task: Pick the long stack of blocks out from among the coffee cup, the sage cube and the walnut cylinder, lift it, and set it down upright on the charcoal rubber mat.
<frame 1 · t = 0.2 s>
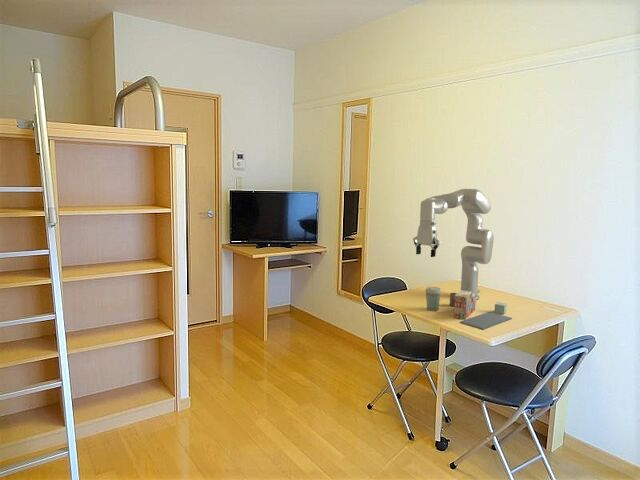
hand: (425, 255, 242), 31 cm above the table, tool pointing down, fingers open, 9 cm apart
charcoal mat: (486, 320, 231), on the table
sage cube: (500, 312, 245), on the table
coffee cup: (432, 309, 249), on the table
stack of blocks: (464, 314, 243), on the table
walnut cylinder: (454, 305, 257), on the table
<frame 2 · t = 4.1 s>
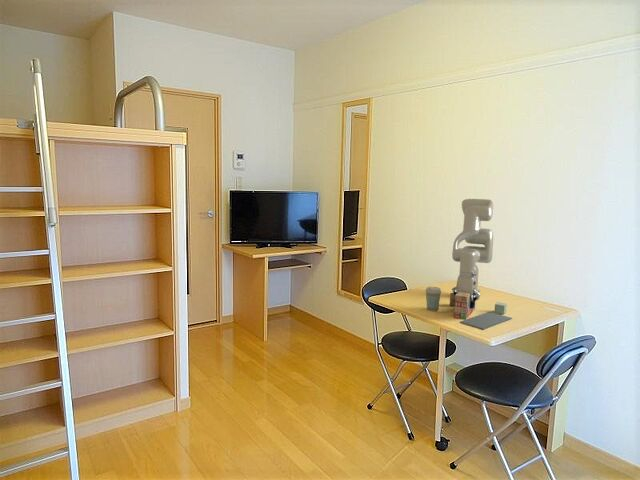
hand: (465, 306, 242), 4 cm above the table, tool pointing down, fingers closed on stack of blocks, 7 cm apart
stack of blocks: (464, 313, 243), on the table, touching gripper
everything else where it was.
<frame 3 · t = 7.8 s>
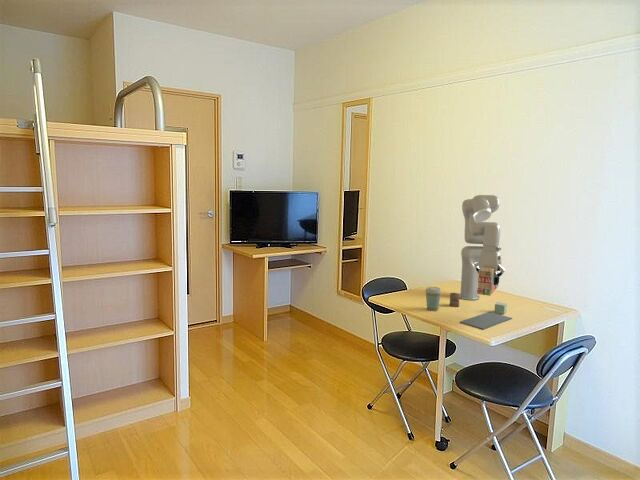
hand: (488, 282, 228), 20 cm above the table, tool pointing down, fingers closed on stack of blocks, 7 cm apart
stack of blocks: (488, 290, 229), point 16 cm above the table, touching gripper
everything else where it was.
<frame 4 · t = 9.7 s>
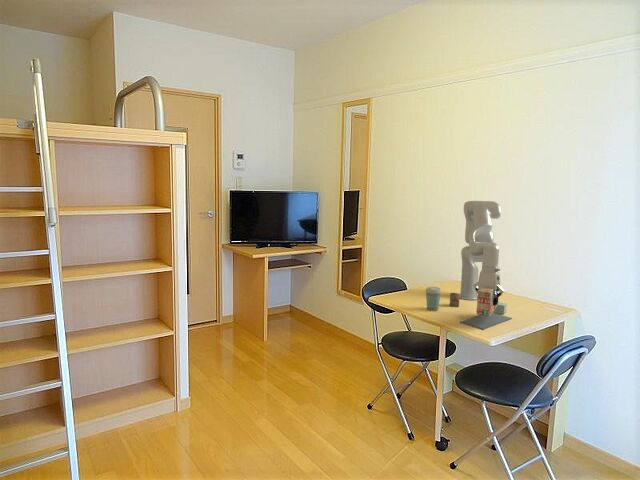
hand: (487, 302, 229), 10 cm above the table, tool pointing down, fingers closed on stack of blocks, 7 cm apart
stack of blocks: (487, 310, 230), point 5 cm above the table, touching gripper
everything else where it was.
when the fingers open (6 cm above the table, at t = 11.5 s): stack of blocks drops 1 cm, resting on charcoal mat.
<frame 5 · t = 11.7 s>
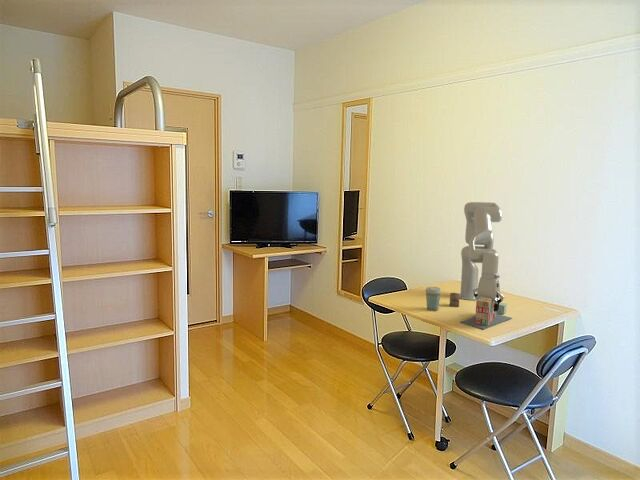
hand: (487, 308, 230), 6 cm above the table, tool pointing down, fingers open, 9 cm apart
stack of blocks: (486, 319, 232), resting on charcoal mat
everything else where it was.
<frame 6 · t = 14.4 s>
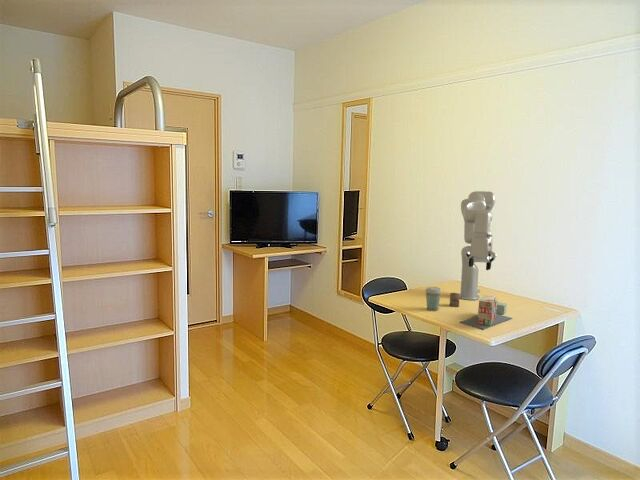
hand: (479, 268, 234), 26 cm above the table, tool pointing down, fingers open, 9 cm apart
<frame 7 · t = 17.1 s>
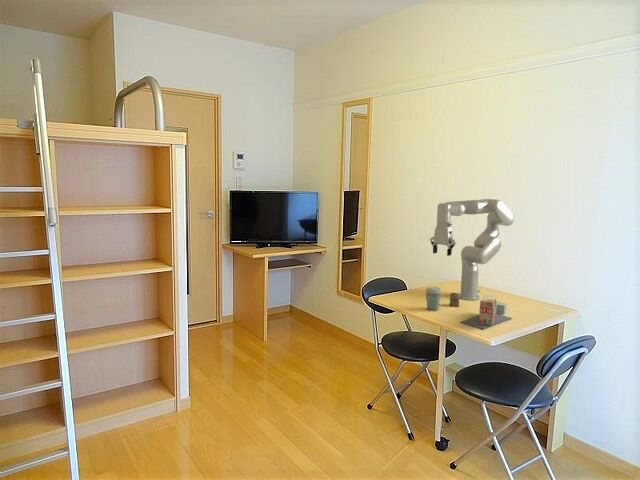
hand: (442, 254, 261), 28 cm above the table, tool pointing down, fingers open, 9 cm apart
nothing on the table moved.
at the end: stack of blocks inside the target area on the charcoal mat (1.3 cm from its centre), point 0.4 cm above the charcoal mat's base; stack of blocks tilted 0°; the gripper is holding nothing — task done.
